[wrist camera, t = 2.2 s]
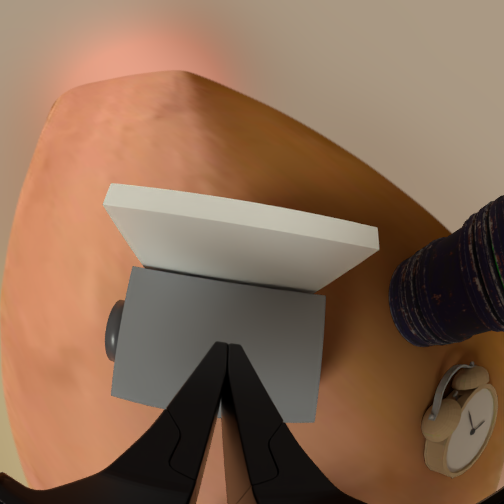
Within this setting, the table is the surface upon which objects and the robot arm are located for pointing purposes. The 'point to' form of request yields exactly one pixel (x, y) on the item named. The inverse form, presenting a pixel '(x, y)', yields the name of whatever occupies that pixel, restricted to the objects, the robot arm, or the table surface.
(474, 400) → the alarm clock
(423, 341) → the storage jar
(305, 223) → the door
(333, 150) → the table surface
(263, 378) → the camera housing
